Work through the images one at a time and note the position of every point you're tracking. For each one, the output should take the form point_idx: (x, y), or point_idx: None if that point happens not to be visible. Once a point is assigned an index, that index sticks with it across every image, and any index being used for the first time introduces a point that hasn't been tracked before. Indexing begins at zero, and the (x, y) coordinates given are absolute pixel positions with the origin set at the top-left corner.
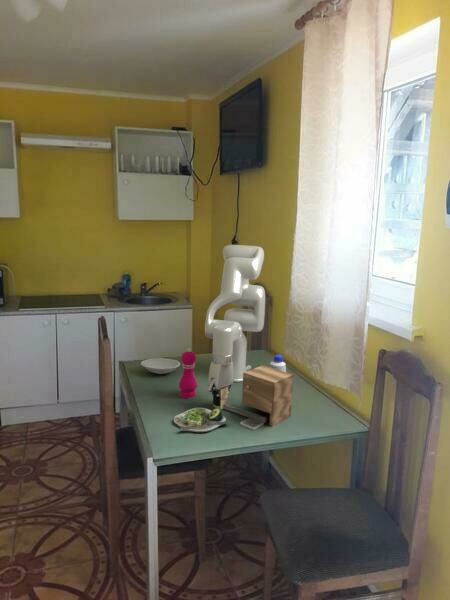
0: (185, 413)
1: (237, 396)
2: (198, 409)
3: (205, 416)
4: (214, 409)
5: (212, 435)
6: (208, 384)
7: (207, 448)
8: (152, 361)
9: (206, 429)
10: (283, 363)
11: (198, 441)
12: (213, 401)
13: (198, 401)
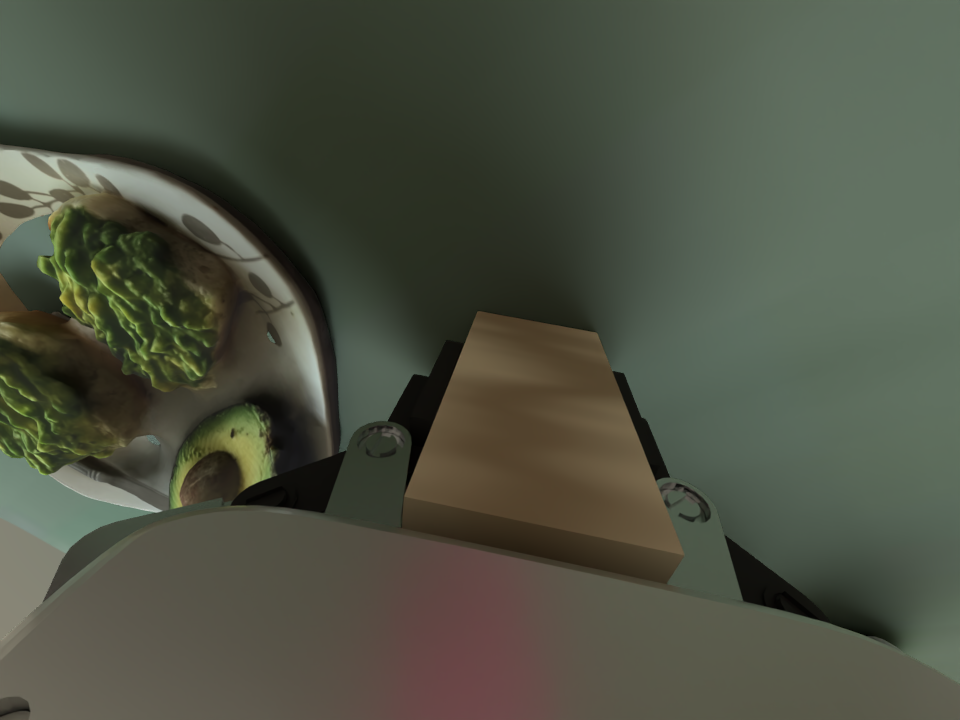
0: (64, 176)
1: (943, 392)
2: (152, 320)
3: (208, 393)
4: (268, 468)
5: (131, 507)
6: (63, 603)
7: (39, 532)
8: None
9: (87, 492)
10: None
11: (20, 479)
12: (410, 382)
13: (521, 3)
